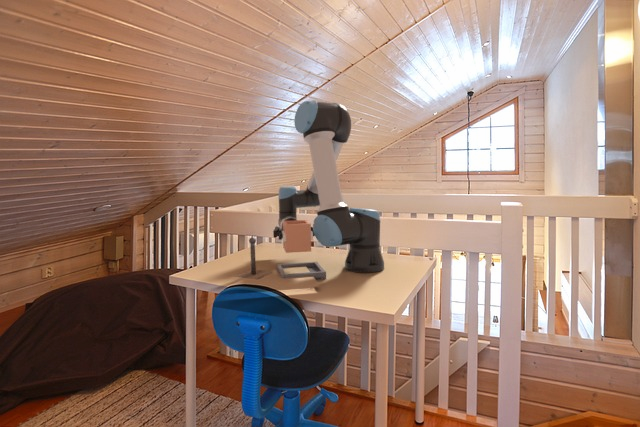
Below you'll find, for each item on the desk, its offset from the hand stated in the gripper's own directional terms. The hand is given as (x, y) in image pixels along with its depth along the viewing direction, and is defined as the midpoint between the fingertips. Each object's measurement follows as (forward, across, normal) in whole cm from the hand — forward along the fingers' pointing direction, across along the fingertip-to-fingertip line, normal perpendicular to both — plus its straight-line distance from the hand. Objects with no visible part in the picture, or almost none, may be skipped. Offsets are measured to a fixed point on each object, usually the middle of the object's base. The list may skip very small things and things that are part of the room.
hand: (298, 237), depth 140 cm
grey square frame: (-3, -1, -15) cm, 15 cm away
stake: (-3, +16, -15) cm, 22 cm away
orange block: (-5, 0, -6) cm, 7 cm away
